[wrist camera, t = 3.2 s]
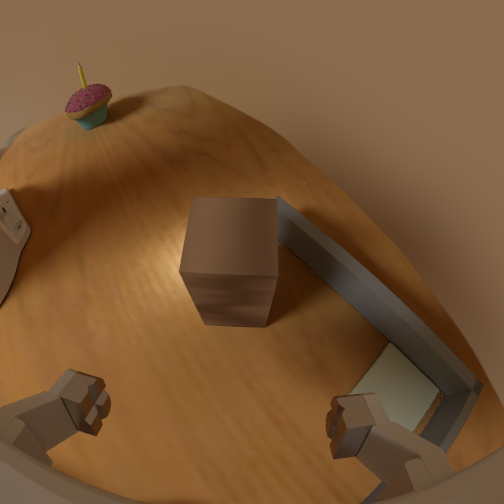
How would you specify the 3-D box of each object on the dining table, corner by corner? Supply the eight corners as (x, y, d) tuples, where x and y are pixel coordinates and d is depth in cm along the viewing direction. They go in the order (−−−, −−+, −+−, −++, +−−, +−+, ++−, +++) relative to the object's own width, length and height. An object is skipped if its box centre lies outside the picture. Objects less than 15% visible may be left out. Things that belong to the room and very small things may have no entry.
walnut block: (204, 324, 22) (179, 271, 14) (210, 271, 25) (193, 196, 16) (265, 327, 22) (278, 276, 14) (265, 273, 25) (276, 199, 16)
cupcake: (77, 119, 40) (58, 68, 29) (117, 103, 41) (103, 49, 31) (72, 143, 36) (47, 84, 25) (117, 124, 37) (99, 61, 27)
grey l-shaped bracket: (108, 353, 21) (86, 343, 17) (274, 222, 28) (278, 195, 24) (315, 552, 11) (327, 571, 8) (457, 391, 19) (483, 385, 15)
